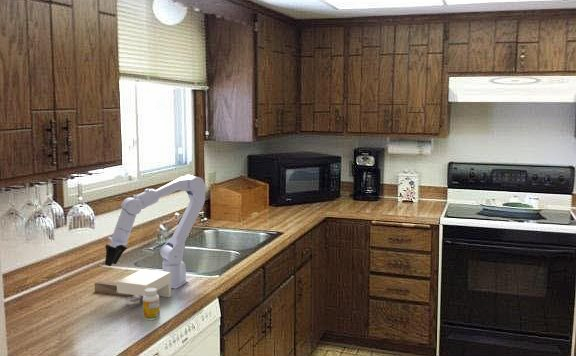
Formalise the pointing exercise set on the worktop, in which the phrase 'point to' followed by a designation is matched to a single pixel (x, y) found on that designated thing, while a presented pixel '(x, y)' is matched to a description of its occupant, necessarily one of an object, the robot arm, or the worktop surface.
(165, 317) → the worktop surface
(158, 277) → the cream step stool
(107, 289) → the tan long block
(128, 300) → the clear glass cup
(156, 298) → the supplement bottle
